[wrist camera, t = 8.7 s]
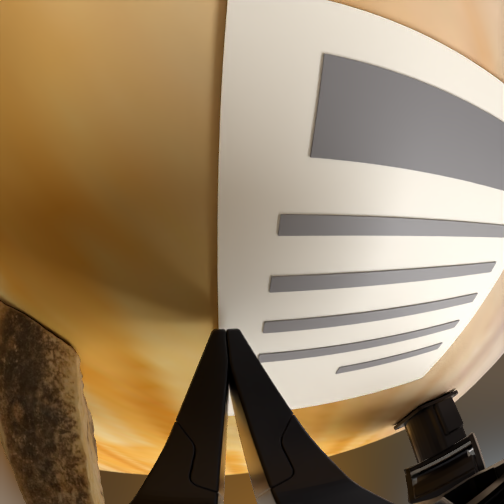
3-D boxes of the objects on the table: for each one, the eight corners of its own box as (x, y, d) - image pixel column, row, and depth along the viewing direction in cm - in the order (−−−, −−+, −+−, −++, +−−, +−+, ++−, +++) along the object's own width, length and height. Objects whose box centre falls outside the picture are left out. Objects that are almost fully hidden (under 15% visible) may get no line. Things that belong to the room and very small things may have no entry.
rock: (120, 458, 15) (208, 464, 10) (45, 521, 7) (96, 587, 2) (32, 332, 15) (66, 263, 10) (-57, 376, 7) (-99, 327, 3)
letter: (420, 375, 17) (422, 378, 16) (222, 413, 15) (222, 417, 14) (553, 128, 6) (557, 131, 6) (228, -12, 4) (229, -14, 4)
